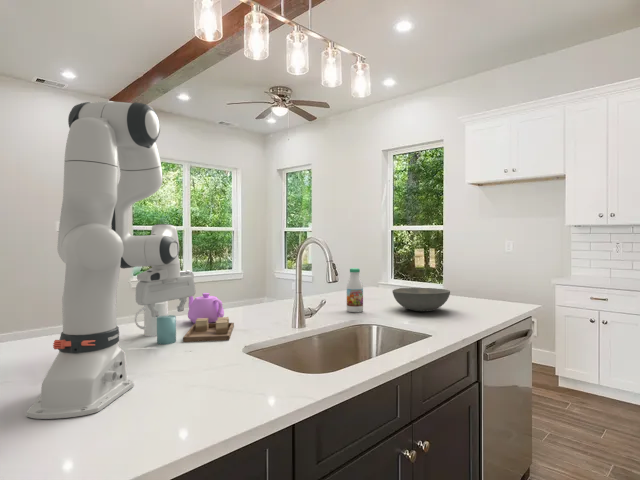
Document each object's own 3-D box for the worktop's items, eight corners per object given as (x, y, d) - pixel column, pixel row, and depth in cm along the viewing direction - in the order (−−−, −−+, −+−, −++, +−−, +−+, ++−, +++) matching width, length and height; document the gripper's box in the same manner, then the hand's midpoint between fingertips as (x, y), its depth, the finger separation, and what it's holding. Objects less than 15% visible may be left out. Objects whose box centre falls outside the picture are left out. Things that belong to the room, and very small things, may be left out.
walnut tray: (229, 341, 135) (229, 335, 135) (183, 343, 133) (183, 337, 133) (233, 328, 155) (233, 322, 155) (193, 329, 153) (193, 324, 153)
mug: (138, 340, 137) (137, 306, 137) (130, 336, 143) (130, 302, 143) (172, 335, 145) (172, 302, 144) (164, 330, 151) (163, 299, 151)
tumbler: (173, 345, 131) (173, 318, 130) (154, 346, 130) (154, 319, 130) (177, 341, 136) (177, 314, 136) (159, 341, 136) (159, 315, 136)
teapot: (173, 324, 162) (173, 293, 161) (200, 317, 174) (199, 289, 174) (210, 330, 152) (209, 297, 152) (235, 322, 164) (234, 292, 164)
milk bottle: (343, 310, 188) (343, 268, 188) (357, 309, 192) (357, 267, 191) (351, 313, 181) (351, 269, 181) (366, 311, 185) (366, 268, 184)
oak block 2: (228, 329, 149) (228, 319, 149) (217, 330, 148) (217, 319, 148) (228, 327, 153) (228, 316, 153) (217, 328, 152) (217, 317, 152)
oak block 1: (206, 331, 147) (206, 320, 147) (195, 331, 147) (195, 320, 147) (208, 328, 151) (208, 318, 151) (197, 328, 151) (197, 318, 151)
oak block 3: (227, 333, 144) (227, 322, 144) (216, 334, 143) (216, 322, 143) (226, 330, 148) (226, 319, 148) (215, 331, 147) (215, 320, 147)
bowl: (389, 314, 179) (389, 292, 179) (395, 304, 204) (395, 284, 204) (450, 317, 171) (450, 294, 171) (449, 306, 196) (449, 286, 196)
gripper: (187, 269, 143) (189, 307, 144) (131, 276, 127) (134, 319, 127) (198, 269, 139) (200, 309, 140) (142, 277, 123) (144, 321, 124)
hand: (168, 313), depth 133 cm, fingers open, 8 cm apart
